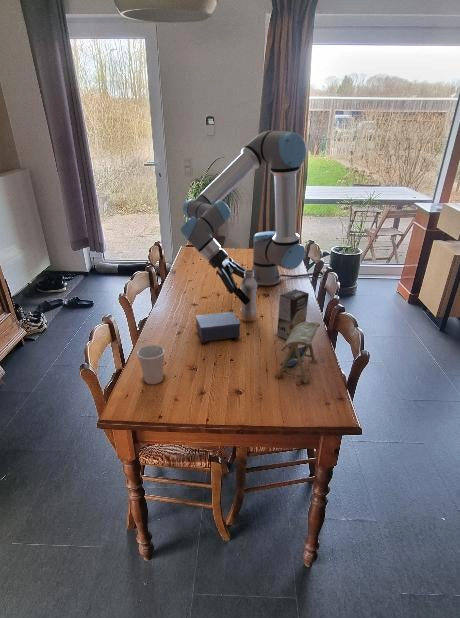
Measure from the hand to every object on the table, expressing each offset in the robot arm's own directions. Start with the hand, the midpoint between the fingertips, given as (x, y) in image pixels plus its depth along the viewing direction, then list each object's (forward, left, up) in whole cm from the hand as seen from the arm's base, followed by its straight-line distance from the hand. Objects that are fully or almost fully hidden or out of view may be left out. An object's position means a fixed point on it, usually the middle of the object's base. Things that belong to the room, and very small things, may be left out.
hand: (252, 296), depth 167 cm
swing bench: (-4, +39, -10) cm, 41 cm away
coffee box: (-11, +15, -10) cm, 21 cm away
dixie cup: (+42, +33, -10) cm, 55 cm away
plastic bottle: (+1, -1, -10) cm, 11 cm away
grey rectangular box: (+16, +10, -10) cm, 22 cm away
